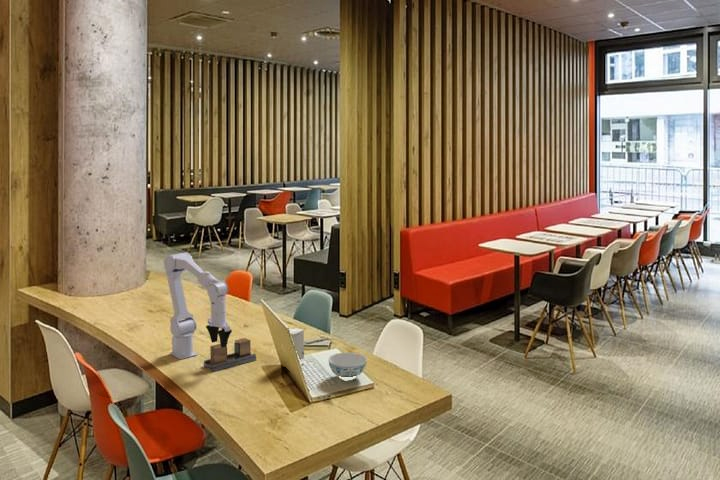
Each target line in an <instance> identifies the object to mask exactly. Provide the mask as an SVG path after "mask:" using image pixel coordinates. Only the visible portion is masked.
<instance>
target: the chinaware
mask: <svg viewBox="0 0 720 480" xmlns="http://www.w3.org/2000/svg"><path fill="white" fill-rule="evenodd" d="M327 360H328V361H327V362H328V364H329V368H330V370H331V371H332V373H333V374H334V375H335V376H336V377H338V376H341V377H353V376H357V375H359V376H360V375H361V374H362V373H363V372H364V370H365V369H366V366H367V363H368V362H367V361H368V358H367V357H366V356H365V355H362V354H360V353H356V352H339V353H335V354H332V355H330V356H329V357H328V359H327ZM357 377H358V376H357Z"/></svg>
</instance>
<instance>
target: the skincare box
mask: <svg viewBox="0 0 720 480" xmlns="http://www.w3.org/2000/svg"><path fill="white" fill-rule="evenodd" d="M288 330H290V333H291V336H292V339H293V342H294V345H295V348H296V351H297V354H298V356H299V359H300V360H301V359H303V358H304V359H305V337H304V336H305V335H304V334H305V330H304V329H302V328H296V327H293V328H289V329H288Z"/></svg>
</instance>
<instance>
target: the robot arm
mask: <svg viewBox="0 0 720 480" xmlns="http://www.w3.org/2000/svg"><path fill="white" fill-rule="evenodd" d="M163 265H164V269H165V270H164V271H165V275H166V278H167V284H168V288H169V293H170V299H171V302H172V307H173V313H174V314H173V315H172V317H171V318H170V319H169V322H170V329H169V330H170V333H171V334H172V338H171V349H172V350H171V351H172V352H170V353H169V354H170V355H172V356H173V357H175V358H177V359H179V360H182V359H187V358H192V357H195V356H198V353H196V352H195V351H194V343H193V341H194V334H195V332H196V330H197V322H196V320H195V318H194V314H193V313H191V312H189V311H188V308H187V303H186V297H185V292H184V288H183V287H184V286H183V283H182V277H181V276H182V274H183V272H184V271H185V270H186V271H187V272H189V273H190V274H192V275H193V276H194V277H196V279H197V283H199V285H201V287H203V288H204V289H205V290H206V292H207V295H208V298H209V302H210V318H207V324H208V325H206V326H205V328H206V330H207V332H208V334H209V337H210V341H211V343H212V344H213V343H217V342H218V339H219V344H221V347H226V346H227V345H228V342H229V338H230V336H231V334H232V332H233V331H232V330H233V329H232V328H231V326H230V325H229V323H228V322H227V320H226V319H227V315H226V314H227V313H226V295H228V293H229V287H228V284H227V283H226V281H224V280H218V279H217V278H216V277H214V276H213V275H212V274H211V272H210V271H207V270H206V271H203V269H202V268H201V267H200V266H199V265H198V264H197V263H196V262H195V261H194V260H193V256H192V255H191V254H190V253H189V252H187V251H185V252H180V253H176V254H175V253H174V254H168V255H166V256H165V258H164V260H163ZM227 347H228V346H227Z"/></svg>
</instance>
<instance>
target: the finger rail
mask: <svg viewBox="0 0 720 480" xmlns="http://www.w3.org/2000/svg"><path fill="white" fill-rule="evenodd" d="M233 345H234V346H233V348H234V349H233V351H234V352H232V353H227V361H225V362H221V363H217V364H212V363H211V358H209V359H205V360H204V361H203V367H204V368H206V369H207V370H209V371H211V372H213V373H214V372H218V371H222V370H226V369H229V368H232V367H237V366H240V365H243V364H247V363H251V362H254V361H257V355H256V353H251V352H252V351H251V346H252V345H251V339H249V338H246V337H244V338H239V339H236V340H234V344H233Z"/></svg>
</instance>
